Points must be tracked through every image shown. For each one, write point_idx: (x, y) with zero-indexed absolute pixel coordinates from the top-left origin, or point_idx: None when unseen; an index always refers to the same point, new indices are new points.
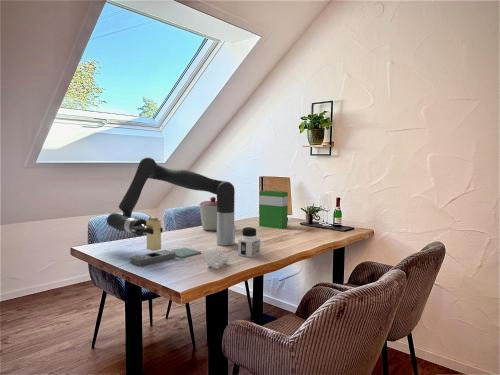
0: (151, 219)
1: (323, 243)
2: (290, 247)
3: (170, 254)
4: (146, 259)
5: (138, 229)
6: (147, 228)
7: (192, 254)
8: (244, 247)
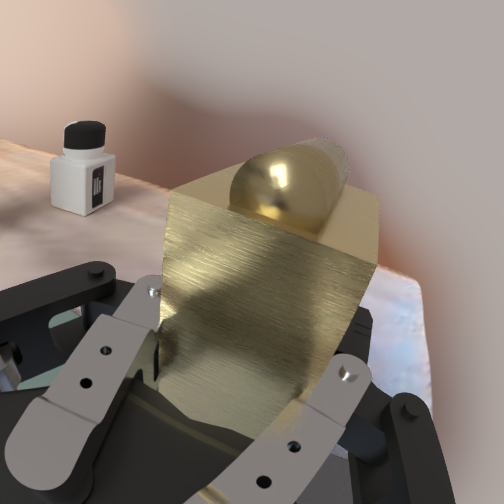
0: (339, 189)
1: (23, 148)
2: (34, 166)
3: None
4: (331, 455)
5: (404, 491)
6: (348, 352)
7: (73, 314)
8: (100, 182)
